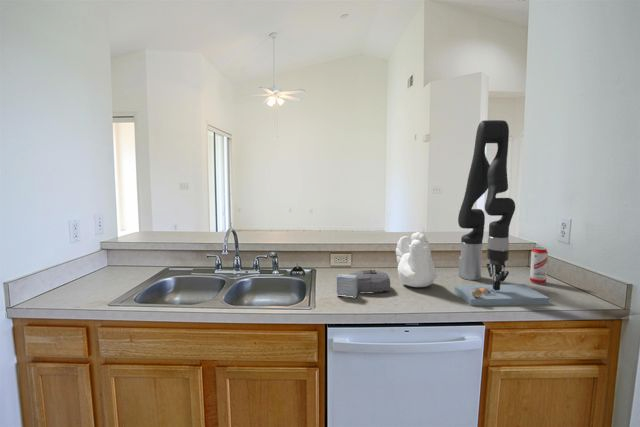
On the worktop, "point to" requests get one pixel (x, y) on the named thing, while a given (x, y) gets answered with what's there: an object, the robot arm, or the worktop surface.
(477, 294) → the cork ball
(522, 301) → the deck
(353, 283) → the medicine box
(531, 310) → the worktop surface
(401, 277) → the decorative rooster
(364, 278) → the grey rounded bag
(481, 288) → the ball
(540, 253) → the beer can
